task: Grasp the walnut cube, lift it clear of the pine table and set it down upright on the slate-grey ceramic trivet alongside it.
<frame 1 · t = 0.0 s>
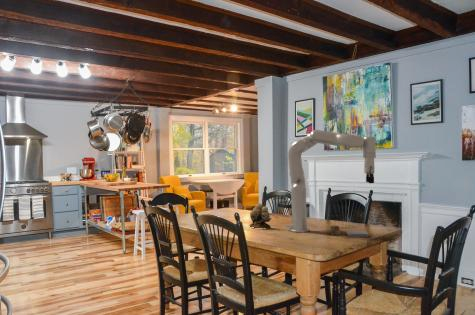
hand: (370, 182, 238), 31 cm above the table, fingers open, 9 cm apart
trivet: (357, 234, 228), on the table
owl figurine: (260, 227, 260), on the table
cube: (335, 234, 232), on the table
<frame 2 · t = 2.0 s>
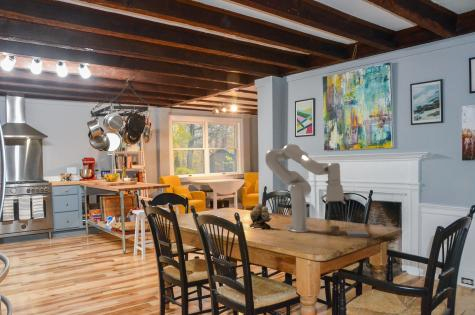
hand: (335, 210, 232), 15 cm above the table, fingers open, 9 cm apart
nothing on the table moved.
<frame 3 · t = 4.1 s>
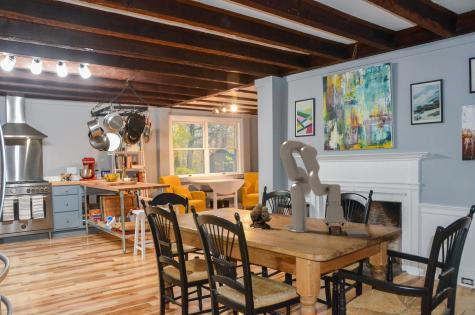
hand: (335, 233, 232), 1 cm above the table, fingers closed on cube, 5 cm apart
cube: (335, 234, 232), on the table, touching gripper
everything else where it was.
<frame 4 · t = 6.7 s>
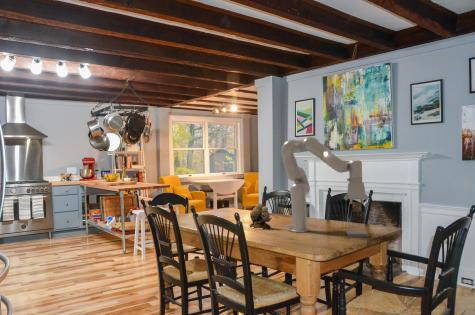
hand: (356, 209, 229), 15 cm above the table, fingers closed on cube, 5 cm apart
cube: (356, 210, 229), point 15 cm above the table, touching gripper
everything else where it was.
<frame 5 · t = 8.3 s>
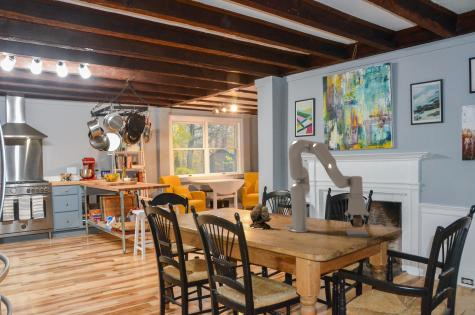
hand: (357, 225, 228), 6 cm above the table, fingers closed on cube, 5 cm apart
cube: (357, 226, 228), point 5 cm above the table, touching gripper
everything else where it was.
when the fingers open (3 cm above the table, at t = 9.6 s): cube drops 1 cm, resting on trivet.
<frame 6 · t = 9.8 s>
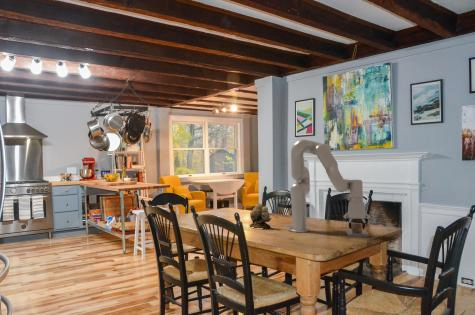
hand: (356, 228, 229), 4 cm above the table, fingers open, 6 cm apart
cube: (356, 232, 228), point 2 cm above the table, touching trivet
everything else where it was.
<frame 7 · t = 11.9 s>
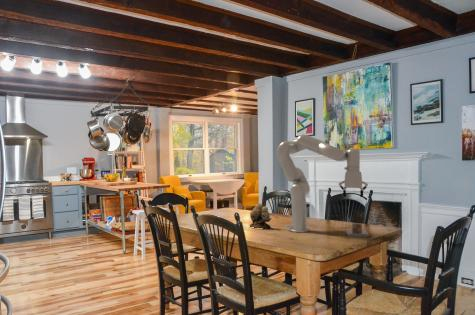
hand: (353, 197, 230), 23 cm above the table, fingers open, 9 cm apart
nothing on the table moved.
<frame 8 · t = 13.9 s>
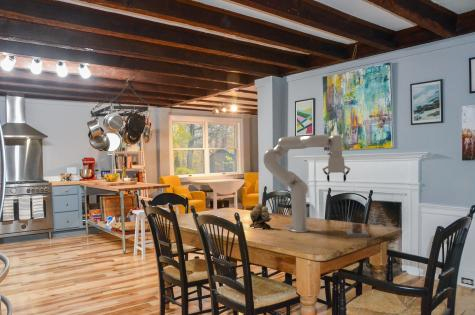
hand: (336, 181, 238), 32 cm above the table, fingers open, 9 cm apart
nothing on the table moved.
at the end: cube inside the target area on the trivet (0.1 cm from its centre), point 1.6 cm above the trivet's base; cube tilted 0°; the gripper is holding nothing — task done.
